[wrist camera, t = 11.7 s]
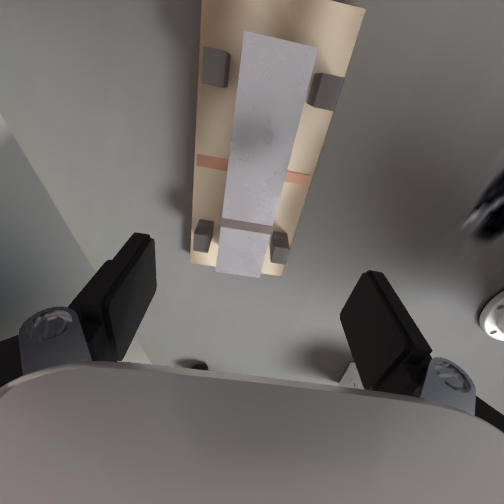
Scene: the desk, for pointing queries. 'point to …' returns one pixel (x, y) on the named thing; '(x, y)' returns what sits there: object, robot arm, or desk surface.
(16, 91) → the desk surface
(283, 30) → the board
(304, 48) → the light grey long block
